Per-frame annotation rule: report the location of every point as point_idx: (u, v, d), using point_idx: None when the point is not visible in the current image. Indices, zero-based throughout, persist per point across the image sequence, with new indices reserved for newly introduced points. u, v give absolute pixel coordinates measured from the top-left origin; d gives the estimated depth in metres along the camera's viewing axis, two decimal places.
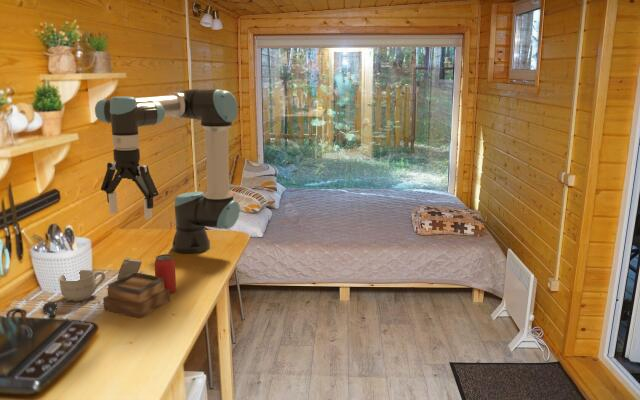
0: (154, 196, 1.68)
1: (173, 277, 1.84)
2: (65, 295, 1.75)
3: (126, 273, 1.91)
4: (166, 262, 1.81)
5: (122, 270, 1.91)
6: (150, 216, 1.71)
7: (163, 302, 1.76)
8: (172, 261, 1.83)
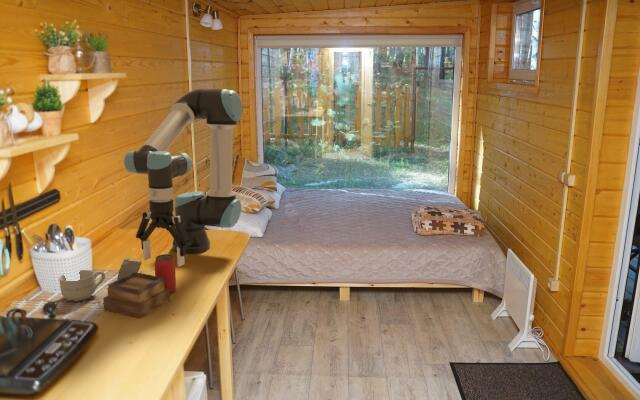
0: (187, 245, 1.78)
1: (173, 277, 1.84)
2: (65, 295, 1.75)
3: (126, 273, 1.91)
4: (166, 262, 1.81)
5: (122, 270, 1.91)
6: (182, 263, 1.81)
7: (163, 302, 1.76)
8: (172, 261, 1.83)
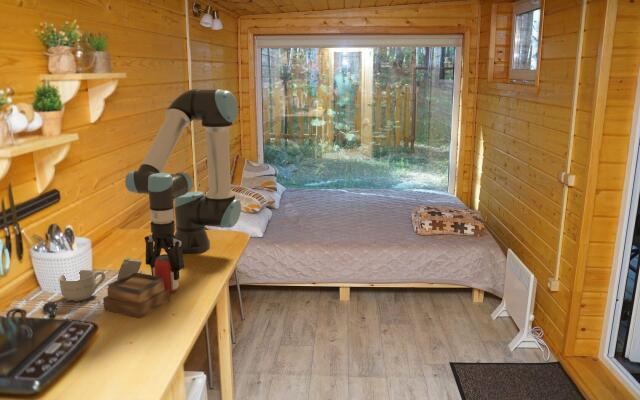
0: (180, 269, 1.82)
1: None
2: (65, 295, 1.75)
3: (126, 273, 1.91)
4: (166, 262, 1.81)
5: (122, 270, 1.91)
6: (176, 286, 1.85)
7: (163, 302, 1.76)
8: None
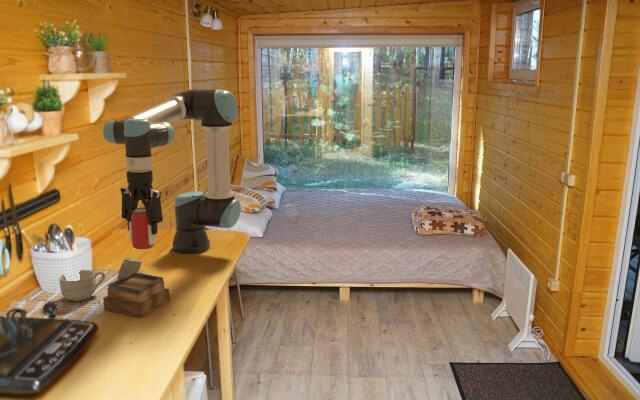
0: (158, 222, 1.69)
1: None
2: (65, 295, 1.75)
3: (126, 273, 1.91)
4: (143, 215, 1.69)
5: (122, 270, 1.91)
6: (154, 242, 1.73)
7: (163, 302, 1.76)
8: None
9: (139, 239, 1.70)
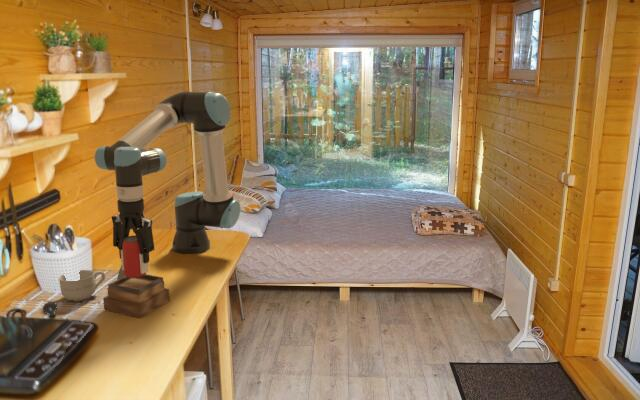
0: (150, 251, 1.68)
1: None
2: (65, 295, 1.75)
3: None
4: (134, 244, 1.68)
5: (122, 270, 1.91)
6: (146, 270, 1.71)
7: (163, 302, 1.76)
8: None
9: (130, 268, 1.69)
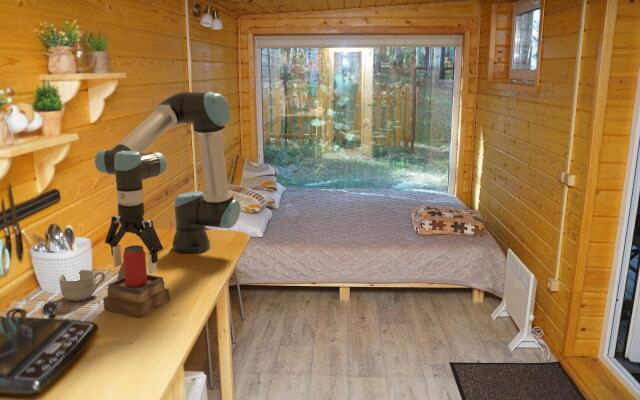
0: None
1: (143, 270, 1.71)
2: (65, 295, 1.75)
3: None
4: (135, 254, 1.68)
5: (122, 270, 1.91)
6: (154, 270, 1.70)
7: (163, 302, 1.76)
8: (142, 252, 1.70)
9: (131, 278, 1.70)
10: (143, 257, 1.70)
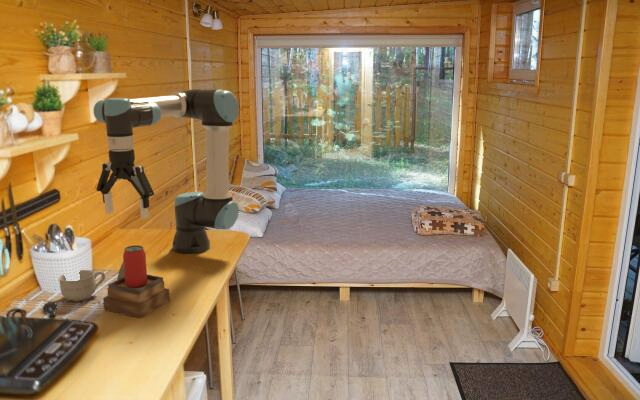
0: None
1: (143, 270, 1.71)
2: (65, 295, 1.75)
3: None
4: (135, 254, 1.68)
5: (122, 270, 1.91)
6: (146, 215, 1.74)
7: (163, 302, 1.76)
8: (142, 252, 1.70)
9: (131, 278, 1.70)
10: (143, 257, 1.70)
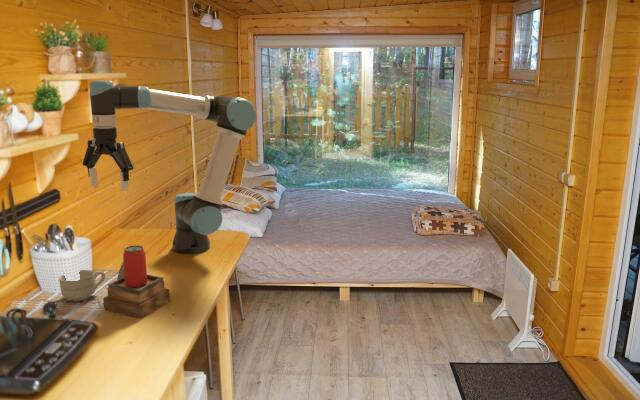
0: None
1: (143, 270, 1.71)
2: (65, 295, 1.75)
3: None
4: (135, 254, 1.68)
5: (122, 270, 1.91)
6: (126, 188, 1.91)
7: (163, 302, 1.76)
8: (142, 252, 1.70)
9: (131, 278, 1.70)
10: (143, 257, 1.70)
